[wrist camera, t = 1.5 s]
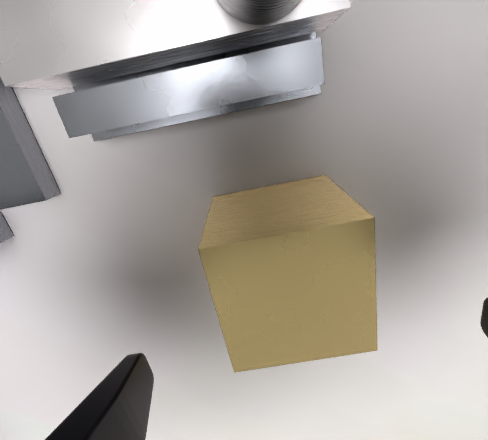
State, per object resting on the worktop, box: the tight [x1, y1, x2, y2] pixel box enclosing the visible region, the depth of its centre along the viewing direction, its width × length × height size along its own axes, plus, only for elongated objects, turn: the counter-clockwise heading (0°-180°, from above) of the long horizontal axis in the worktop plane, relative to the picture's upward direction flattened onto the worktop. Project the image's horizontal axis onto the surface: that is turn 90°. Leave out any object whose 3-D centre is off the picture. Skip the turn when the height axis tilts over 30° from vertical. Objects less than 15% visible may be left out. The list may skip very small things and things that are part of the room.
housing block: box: [198, 175, 377, 372], centre depth 11 cm, size 5×5×5 cm
